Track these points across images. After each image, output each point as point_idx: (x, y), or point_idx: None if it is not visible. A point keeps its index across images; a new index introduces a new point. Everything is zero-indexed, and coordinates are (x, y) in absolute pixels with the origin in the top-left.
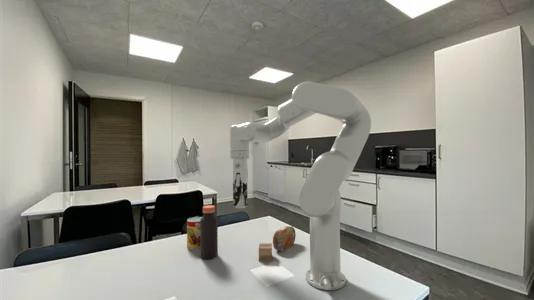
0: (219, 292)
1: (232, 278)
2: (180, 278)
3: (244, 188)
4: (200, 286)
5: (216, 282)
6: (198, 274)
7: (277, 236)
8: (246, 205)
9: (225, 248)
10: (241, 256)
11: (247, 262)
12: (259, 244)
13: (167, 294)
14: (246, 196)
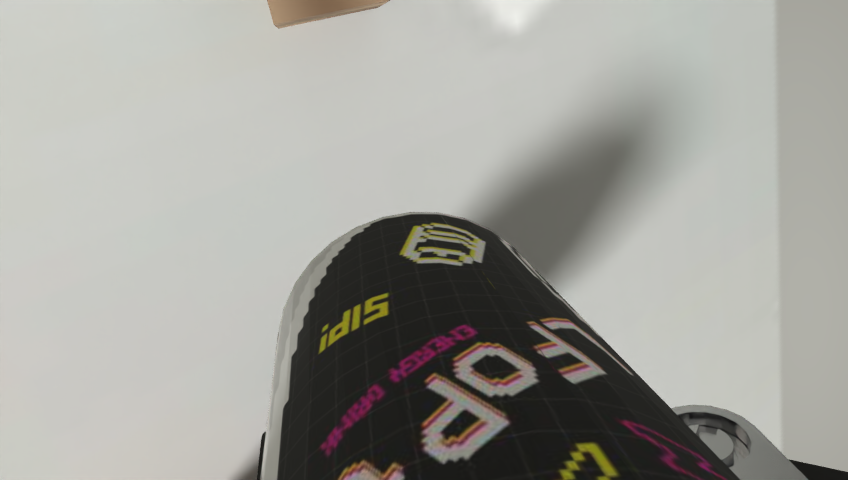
0: (754, 117)
1: (627, 106)
2: (652, 366)
3: (695, 450)
4: (711, 234)
5: (672, 175)
6: (607, 308)
7: None
8: (448, 217)
9: (227, 342)
10: (332, 167)
11: (416, 87)
12: (301, 17)
13: (773, 332)
14: (498, 283)
